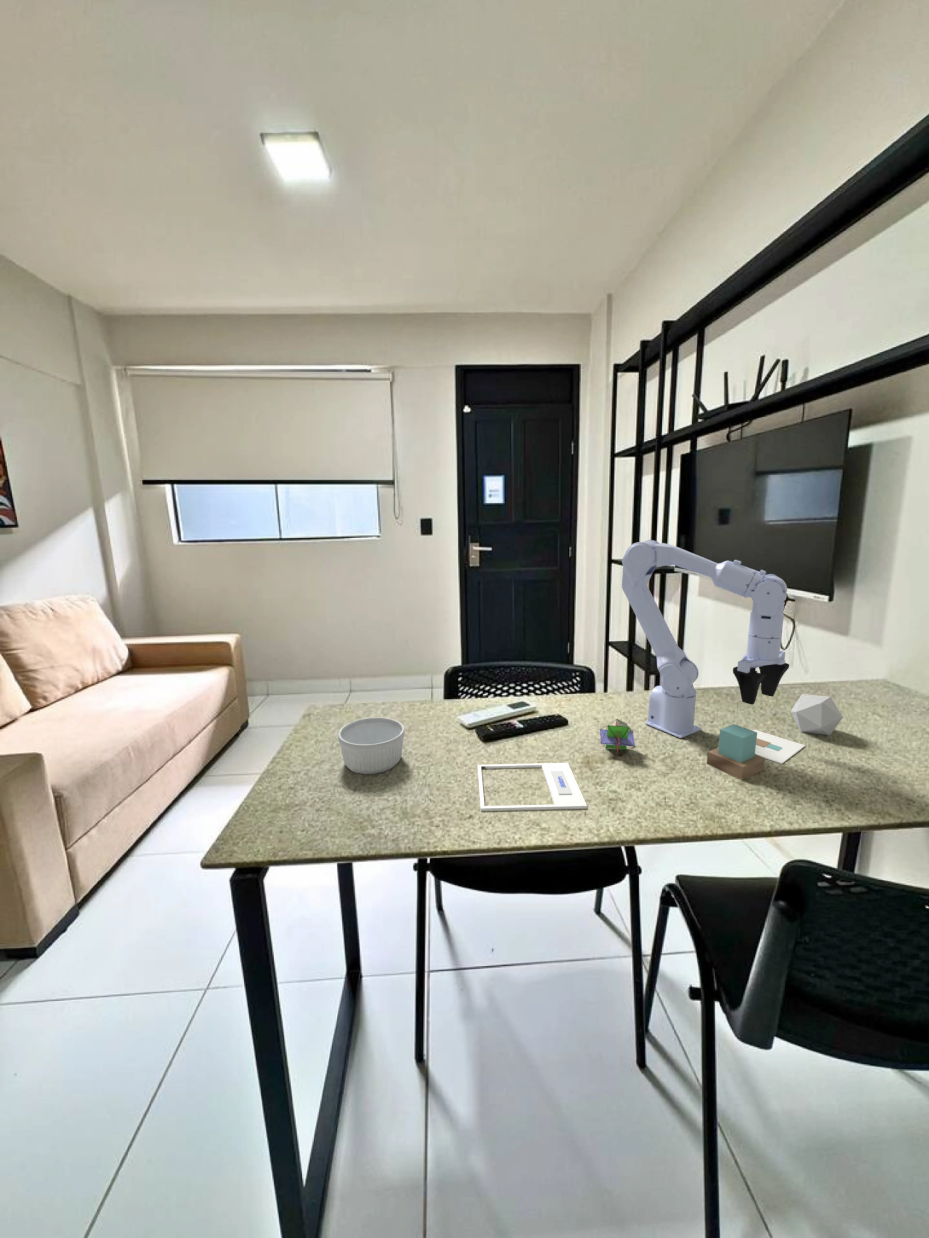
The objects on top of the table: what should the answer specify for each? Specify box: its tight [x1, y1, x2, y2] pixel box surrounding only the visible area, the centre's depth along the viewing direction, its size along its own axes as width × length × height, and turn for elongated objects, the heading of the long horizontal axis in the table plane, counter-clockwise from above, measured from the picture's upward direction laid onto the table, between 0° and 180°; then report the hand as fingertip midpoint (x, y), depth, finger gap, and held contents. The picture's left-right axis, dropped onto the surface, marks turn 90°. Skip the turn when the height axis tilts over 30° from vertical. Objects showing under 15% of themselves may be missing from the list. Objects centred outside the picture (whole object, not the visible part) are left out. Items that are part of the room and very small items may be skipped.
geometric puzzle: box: [599, 718, 636, 758], centre depth 100 cm, size 7×7×8 cm
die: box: [790, 693, 844, 737], centre depth 107 cm, size 8×9×10 cm
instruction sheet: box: [752, 729, 806, 765], centre depth 102 cm, size 10×12×1 cm
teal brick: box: [717, 723, 757, 763], centre depth 93 cm, size 4×4×5 cm
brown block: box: [706, 747, 766, 781], centre depth 93 cm, size 7×7×3 cm
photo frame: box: [477, 762, 588, 812], centre depth 88 cm, size 15×1×18 cm
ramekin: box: [337, 716, 405, 775], centre depth 98 cm, size 13×13×7 cm
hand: (757, 698), depth 100 cm, fingers open, 7 cm apart
